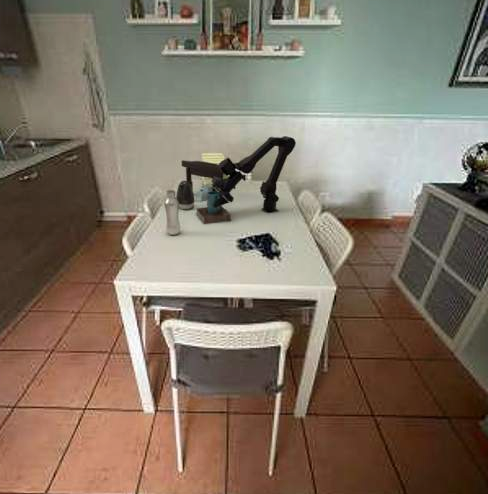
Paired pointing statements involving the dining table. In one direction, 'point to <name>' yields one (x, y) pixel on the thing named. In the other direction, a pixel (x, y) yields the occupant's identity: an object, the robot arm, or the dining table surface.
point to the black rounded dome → (185, 195)
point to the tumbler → (212, 202)
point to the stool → (202, 175)
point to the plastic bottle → (172, 213)
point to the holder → (213, 215)
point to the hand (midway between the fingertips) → (211, 204)
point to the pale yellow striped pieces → (215, 159)
